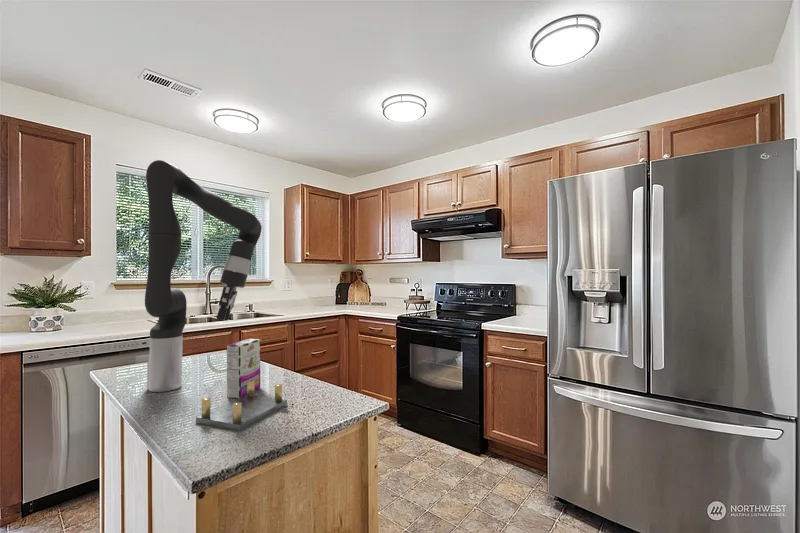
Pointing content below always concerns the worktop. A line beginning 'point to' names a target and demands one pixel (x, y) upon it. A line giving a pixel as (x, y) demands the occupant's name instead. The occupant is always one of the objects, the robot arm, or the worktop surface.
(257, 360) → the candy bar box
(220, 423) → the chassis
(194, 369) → the worktop surface
